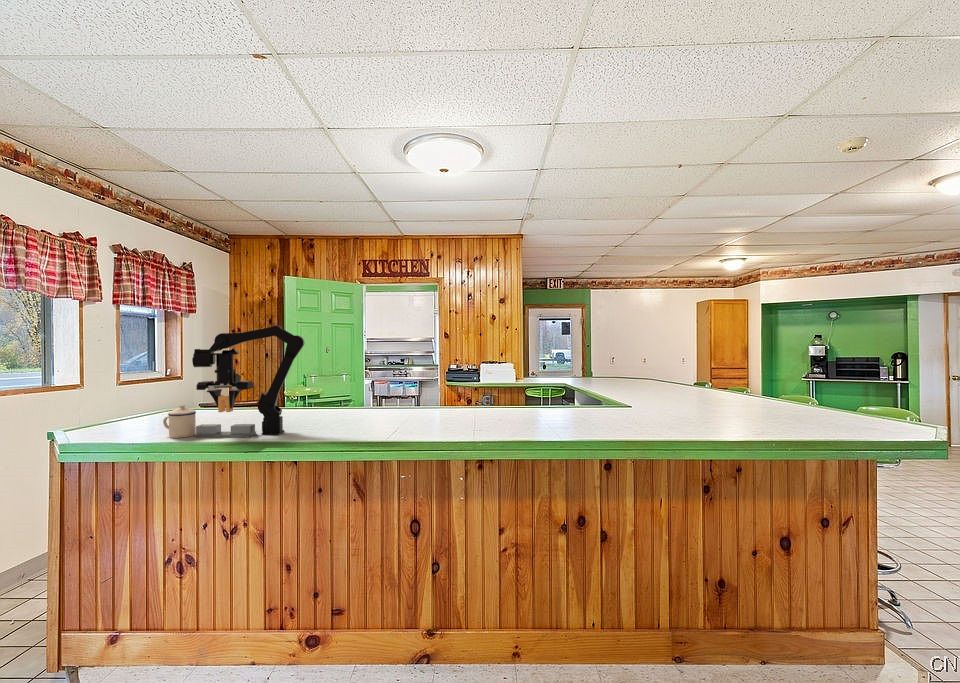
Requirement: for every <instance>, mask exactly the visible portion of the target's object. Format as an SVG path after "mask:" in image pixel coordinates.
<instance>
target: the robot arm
mask: <svg viewBox="0 0 960 683" xmlns="http://www.w3.org/2000/svg"><path fill="white" fill-rule="evenodd" d="M271 337H272V338H273V337H276V338H278V339H279V340H281V341H282V342H283V343H285V344H286V345H285V351H284V357H283V358H282V360H281V362H280V365H279V366H278V369H277V371H276V373H275V376H274V377H273V380H272V382H271V384H270V386H269V388H268V390H267V392H266V391H263V392H261V393H260V397H259V400H258V401H257V402H256V404H257V410H258V412H259V413H260V414H261V415H262V416H263V419H262V421H261V435H263V436H264V435H265V436H266V435H274V436H275V435H280V434H282V433H284V432H285V430H284V428H283V427H284V424H283V416H282V412H283V409H282V408H281V407H279V406H278V400H279V395H280V391H281V389H282V388H283V387H282V386H283V385H284V383H285V380H286V378H287V376H288V375H289V372H290V370H291V367H292V366H293V362H294V360H295V359H296V358H297V356H298V355H299V353H300V352H301V350H303V348H304V346H305V339H304V337H303V336H301V335H294V334H293V333H292V332H289V331H287V330H286V329H284V328H283V327H281V326H280V325H272V326H269V327H264V328H258V329H254V330H249V331H243V332H229V333H227V332H226V333H224V332H222V333H219V334H216V336H215V338H214V339H213V340H214V342H213V343H212V345H210V348H209V349H205V348H204V349H203V348H202V349H201V348H195V349H193V350H194V353H193V355H192V356H193V357H192V359H191V360H192V361H191V362H192V366H193V368H211V367H213V365H216V367H215V368H216V369H214V373H215V374H216V380H215V381H214V380H204V381H203V380H202V381H199V382H197V383H196V386H195V387H196V391H205V390H206V389H207V390H206V393H209V394H210V396H211V398H212V399H213V400H214V402H215V404H216V407H218V396H221V395H222V390H223V389H227V388H228V389H229V388H230V390H229V391H228V395H229V402H230V408H233V409H234V406H235V402H236V400H237V398H238V396H239V393H240V392H243V391H245V390H250V389H254V382H253V381H252V380H241V379H242V375H240V374H239V373H236V368H234V355H240V352H239V351H238V350H237V349H236V348H235V346H238V345H241V344H243V343H246V342H250V341H255V340H261V339H267V338H271ZM232 347H233V348H232ZM230 348H231V349H230ZM220 351H221V352H220Z"/></svg>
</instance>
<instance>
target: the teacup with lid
mask: <svg viewBox="0 0 960 683" xmlns="http://www.w3.org/2000/svg"><path fill="white" fill-rule="evenodd" d="M196 414H197V411H196V410H195V409H192V408H190V407H188V406H186V404H179V405H178V407H177V408H175V409H173V410H171V411H169V412H168V413H167V415H168V416H165V417H164V418H163V420H162V423H163V426H164V428H165V429H166V430H168V437H170V438H171V437H172V439H179V438H180V439H181V438H182V437H184V438H190V437H193V436H195V435H196V426H197V425H196V424H197V423H196V420H197V419H196Z"/></svg>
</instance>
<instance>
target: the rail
mask: <svg viewBox="0 0 960 683" xmlns="http://www.w3.org/2000/svg"><path fill="white" fill-rule="evenodd" d="M255 435H257V431H256V424H255V423H235V424H233V425H230V431H222V423H219V424H217V423H215V424H212V423H210V424H209V423H208V424H206V423H204V424H202V423H201V424H198V425H196V434H195V435H194V438H195V437H216V439H217V438H220V439H221V438H251V437H253V436H255Z"/></svg>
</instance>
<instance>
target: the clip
mask: <svg viewBox="0 0 960 683" xmlns="http://www.w3.org/2000/svg"><path fill="white" fill-rule="evenodd" d="M233 411H234V407H233V408H230V402H229V394H223V395H222V394H221V396H218V406H217V412H218V413H225V412H226V413H230V412H233Z"/></svg>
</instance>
